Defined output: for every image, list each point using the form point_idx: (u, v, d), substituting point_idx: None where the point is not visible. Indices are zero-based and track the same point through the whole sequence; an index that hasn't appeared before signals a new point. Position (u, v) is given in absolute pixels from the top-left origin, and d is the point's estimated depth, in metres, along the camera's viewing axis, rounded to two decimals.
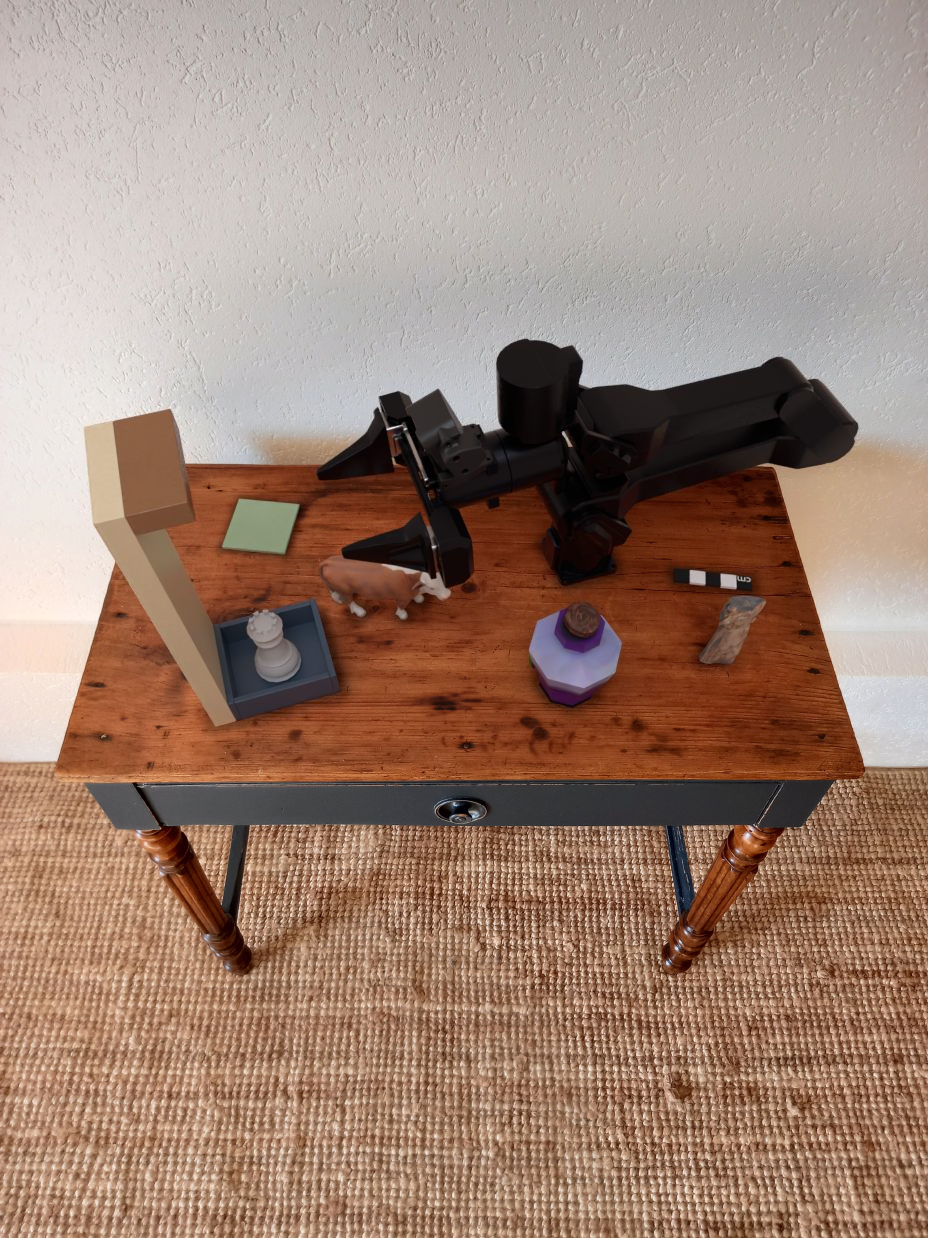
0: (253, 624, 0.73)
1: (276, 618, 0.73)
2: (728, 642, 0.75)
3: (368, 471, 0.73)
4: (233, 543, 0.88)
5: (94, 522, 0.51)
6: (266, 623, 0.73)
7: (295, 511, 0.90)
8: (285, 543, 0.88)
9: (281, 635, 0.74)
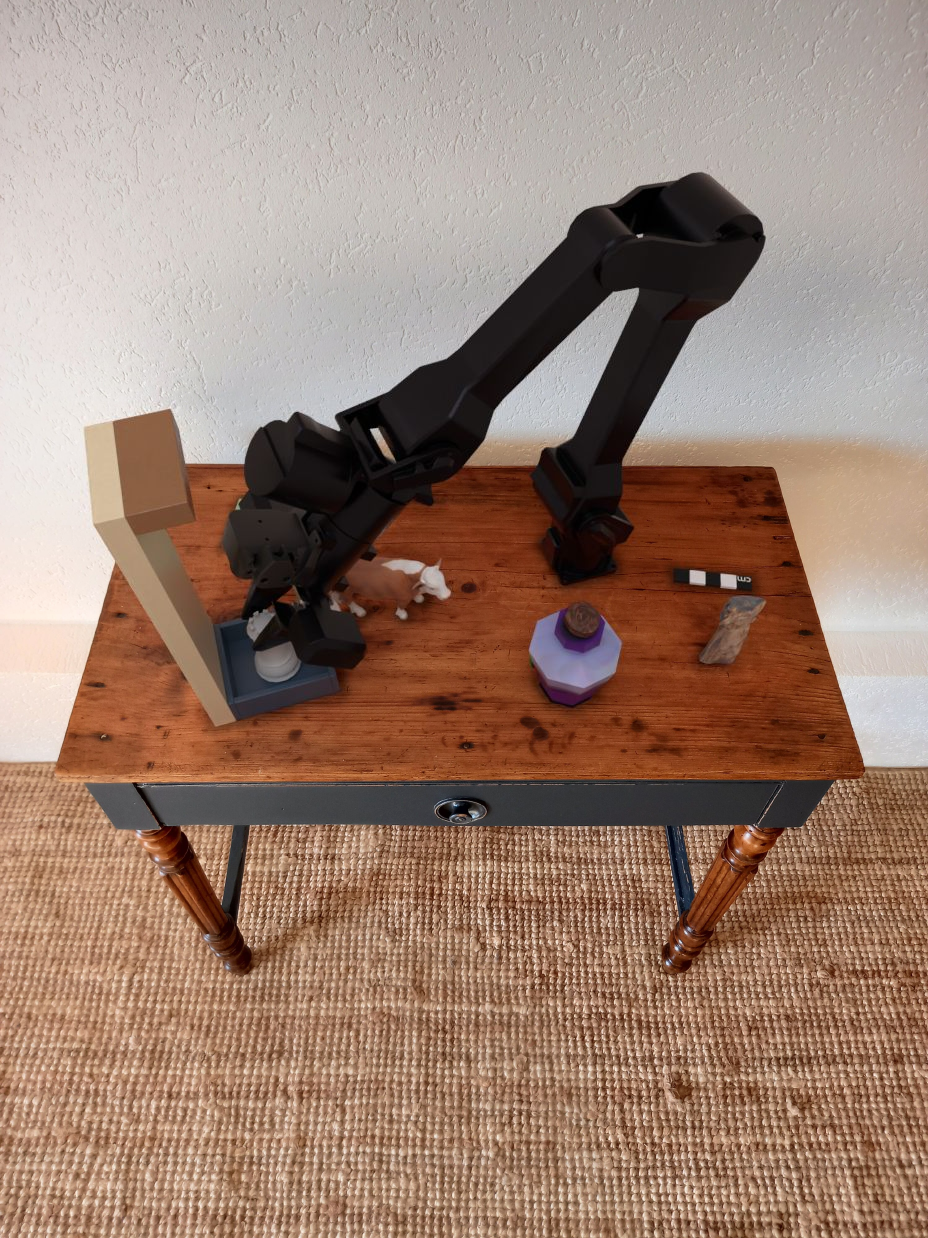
0: (253, 624, 0.73)
1: None
2: (728, 642, 0.75)
3: (285, 588, 0.74)
4: None
5: (94, 522, 0.51)
6: (266, 623, 0.73)
7: None
8: None
9: None
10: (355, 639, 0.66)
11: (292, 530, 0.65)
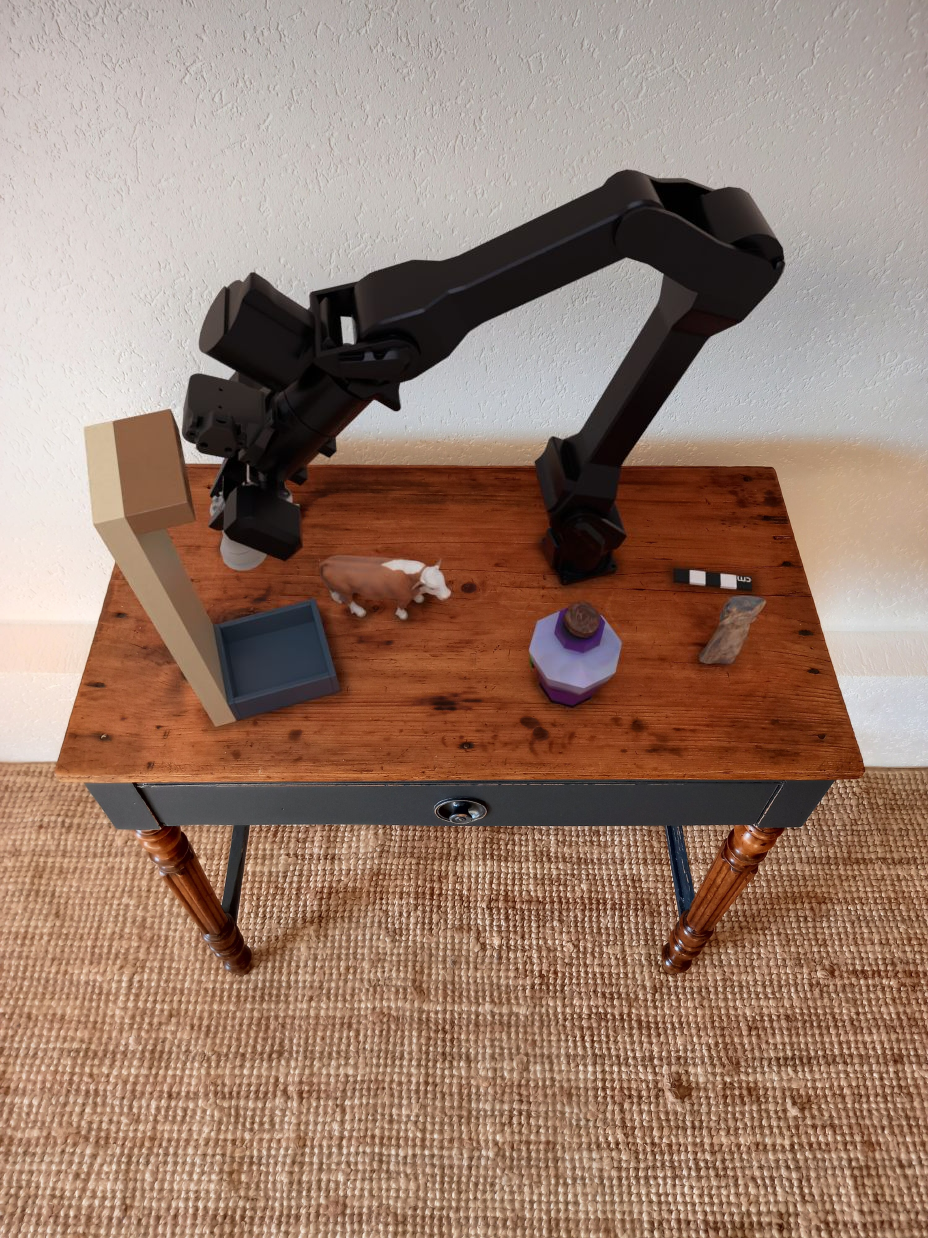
0: (216, 503, 0.73)
1: None
2: (728, 642, 0.75)
3: None
4: None
5: (94, 522, 0.51)
6: None
7: None
8: None
9: None
10: (289, 529, 0.64)
11: (251, 405, 0.64)
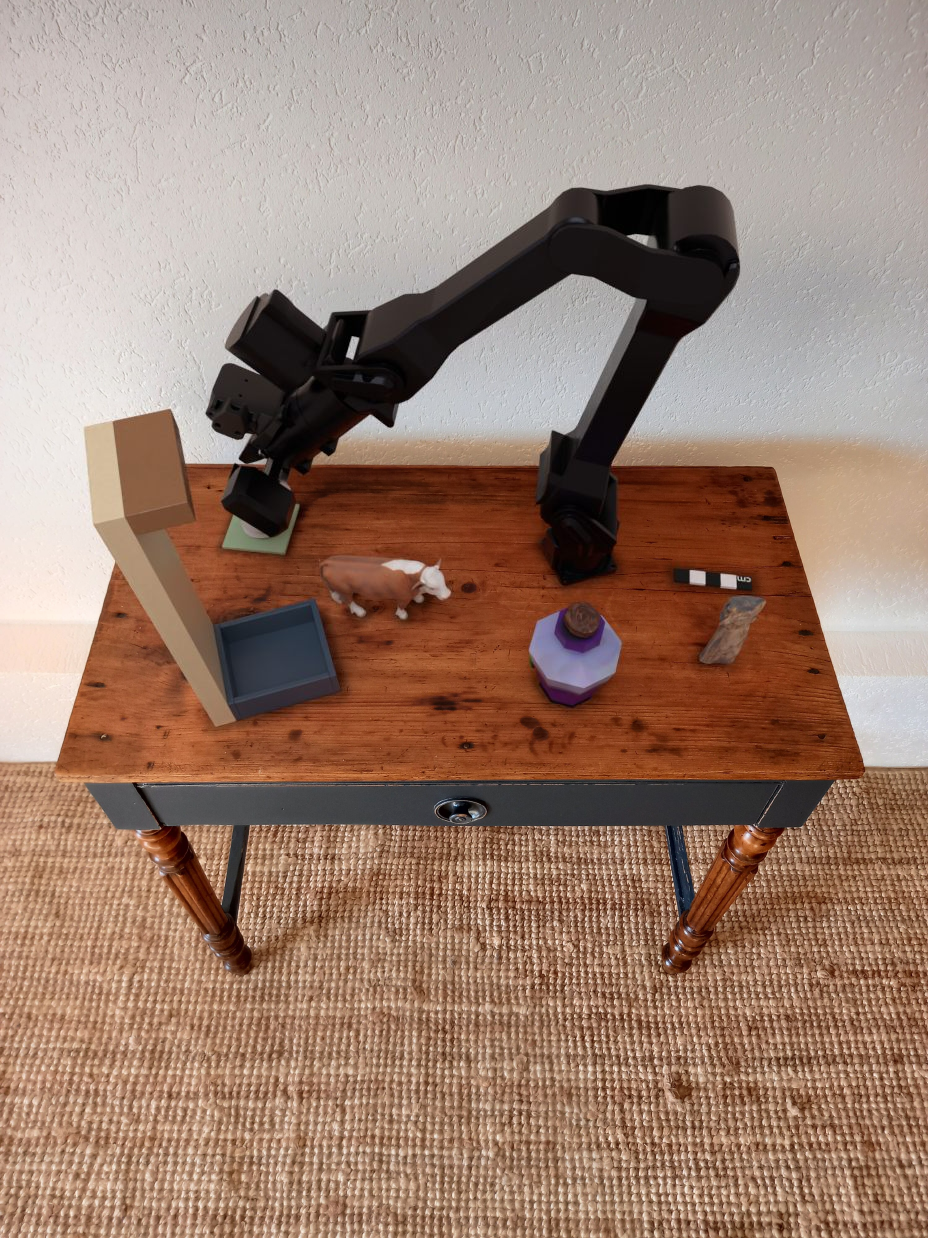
0: None
1: None
2: (728, 642, 0.75)
3: None
4: (233, 543, 0.88)
5: (94, 522, 0.51)
6: None
7: (295, 511, 0.90)
8: (285, 543, 0.88)
9: None
10: (277, 510, 0.73)
11: (268, 399, 0.73)
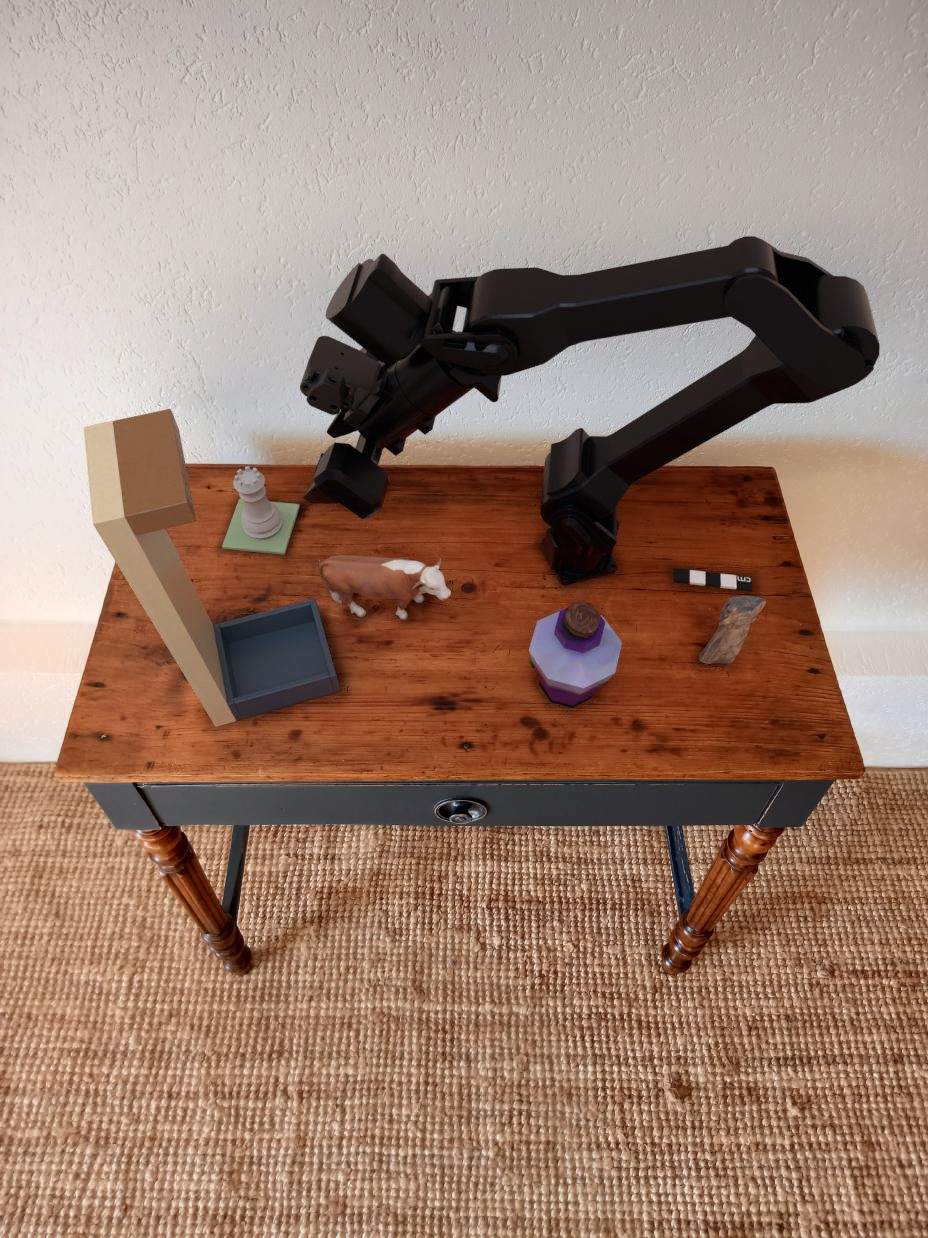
0: (240, 475, 0.83)
1: (260, 479, 0.83)
2: (728, 642, 0.75)
3: None
4: (233, 543, 0.88)
5: (94, 522, 0.51)
6: (249, 479, 0.82)
7: (295, 511, 0.90)
8: (285, 543, 0.88)
9: (261, 496, 0.84)
10: (371, 489, 0.69)
11: (365, 373, 0.69)
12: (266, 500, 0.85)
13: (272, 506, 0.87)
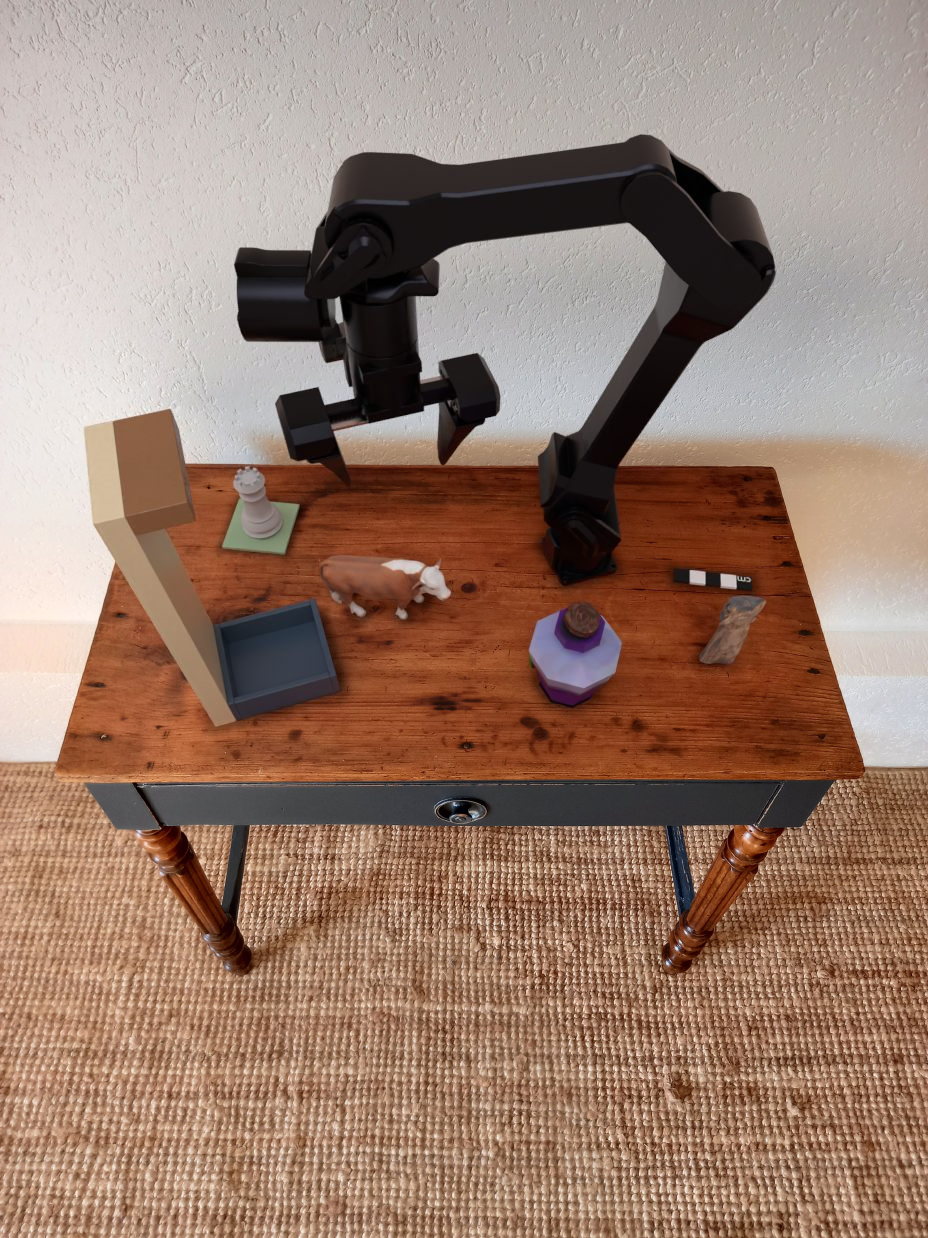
0: (240, 475, 0.83)
1: (260, 479, 0.83)
2: (728, 642, 0.75)
3: (448, 437, 0.72)
4: (233, 543, 0.88)
5: (94, 522, 0.51)
6: (249, 479, 0.82)
7: (295, 511, 0.90)
8: (285, 543, 0.88)
9: (261, 496, 0.84)
10: (291, 420, 0.66)
11: None
12: (266, 500, 0.85)
13: (272, 506, 0.87)
